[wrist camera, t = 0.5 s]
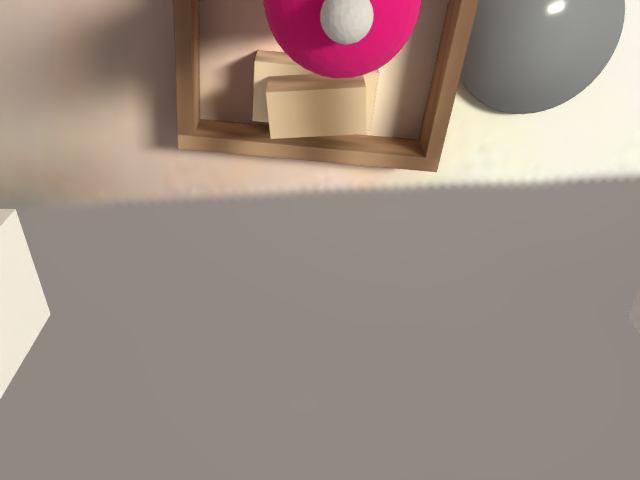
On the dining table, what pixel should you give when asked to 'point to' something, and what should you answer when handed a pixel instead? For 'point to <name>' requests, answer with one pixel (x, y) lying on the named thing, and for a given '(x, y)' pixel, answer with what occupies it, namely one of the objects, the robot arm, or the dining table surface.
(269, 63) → the offcut lower
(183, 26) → the frame
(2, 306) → the robot arm
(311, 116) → the offcut upper
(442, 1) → the dining table surface
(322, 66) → the pepper mill
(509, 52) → the coaster
